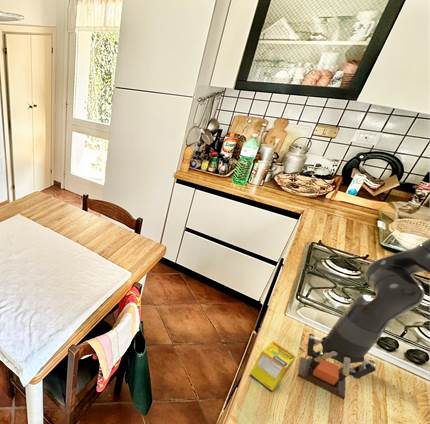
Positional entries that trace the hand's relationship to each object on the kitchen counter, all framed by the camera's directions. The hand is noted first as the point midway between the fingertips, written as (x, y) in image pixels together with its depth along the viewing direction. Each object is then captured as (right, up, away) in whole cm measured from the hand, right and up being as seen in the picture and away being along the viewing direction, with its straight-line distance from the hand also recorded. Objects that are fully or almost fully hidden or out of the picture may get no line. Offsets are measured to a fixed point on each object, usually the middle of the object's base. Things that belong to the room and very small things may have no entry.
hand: (323, 373), depth 84 cm
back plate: (0, -2, +1) cm, 2 cm away
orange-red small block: (0, 0, 0) cm, 0 cm away
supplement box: (-16, -2, +1) cm, 16 cm away
